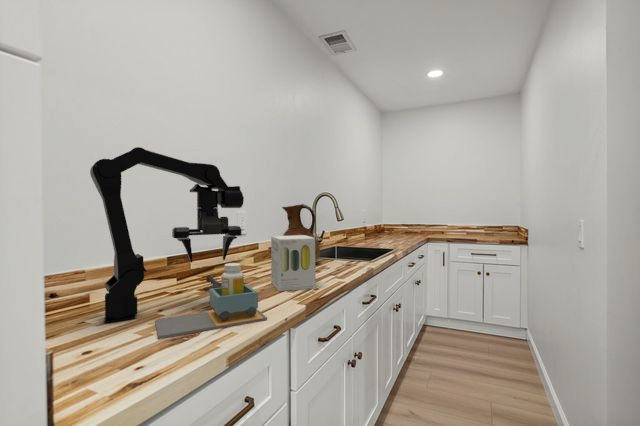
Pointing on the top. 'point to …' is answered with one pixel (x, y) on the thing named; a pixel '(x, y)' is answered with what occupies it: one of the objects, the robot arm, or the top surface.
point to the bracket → (215, 283)
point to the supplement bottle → (232, 279)
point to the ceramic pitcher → (300, 225)
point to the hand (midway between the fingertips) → (207, 261)
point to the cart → (234, 302)
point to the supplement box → (293, 262)
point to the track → (202, 323)
